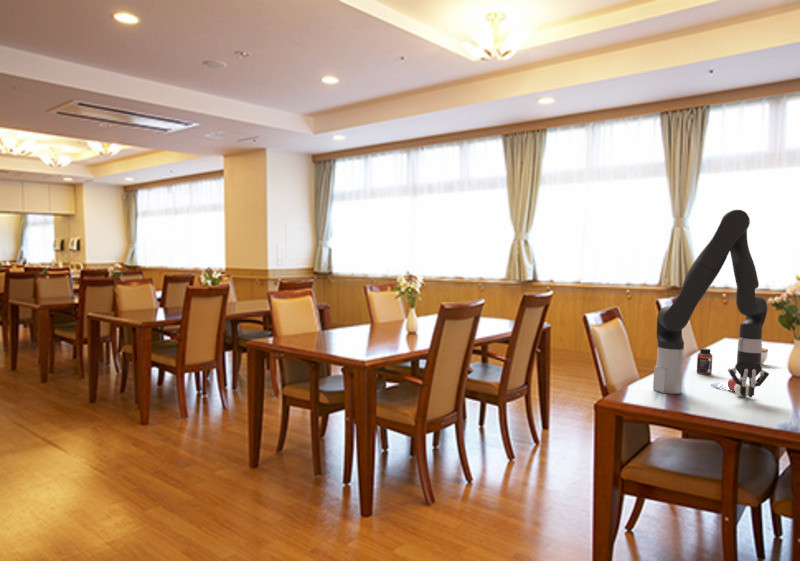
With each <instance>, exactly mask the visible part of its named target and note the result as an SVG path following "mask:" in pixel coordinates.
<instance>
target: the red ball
mask: <svg viewBox="0 0 800 561" xmlns="http://www.w3.org/2000/svg"><path fill="white" fill-rule="evenodd" d="M737 378H738V377H737ZM738 380H739V381H740V377H739V378H738ZM727 383H728V387H729V389H730V390H732V391H734V387H735V385H736V383H735V382H734V380H733V378H732V377H731V378H730V379H728V381H727ZM732 391H731V392H732Z"/></svg>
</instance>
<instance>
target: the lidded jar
mask: <svg viewBox="0 0 800 561" xmlns="http://www.w3.org/2000/svg"><path fill="white" fill-rule="evenodd" d="M768 351H769V349H767V348H765V347H762V353H761V365H762V364H764V363H765V361H766V360H767V358H768Z"/></svg>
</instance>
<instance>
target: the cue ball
mask: <svg viewBox="0 0 800 561" xmlns="http://www.w3.org/2000/svg"><path fill="white" fill-rule="evenodd" d="M749 386H750V385H749V384H748V383H747V382H746V385H745V387H746V396H745V397H743V396H742V395H741V394H740V385H738V384H736V385H735V387H734V391H735V392H734V393H735V395H737V396H738V397H741V398H746V397H749V396H748V388H749Z"/></svg>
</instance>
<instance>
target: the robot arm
mask: <svg viewBox="0 0 800 561" xmlns="http://www.w3.org/2000/svg"><path fill="white" fill-rule="evenodd" d="M750 224H751V219H750V216H749V214H747V212H746V211H744V210H743V209H732V210H729V211H728V212H726V213H725V214H724V215H723V217H722V218H721V220H720V223H719V225H718V227H717V229H716V231H715V233H714V235H713V236H712V238H711V240H710V241H709V242H708V243H707V245H706V246H705V247H704V248H703V250H702V251H701V252H700V253H699V254H698V256H697V258H696V259H695V260H694V262H693V263H692V265H691V266H690V267H689V270H688V271H687V273H686V276H685V277H684V280H683V283H682V287H681V290H680V292H679V294H678V296H677V297H676V298H675V300H674V301H673V303H672V304H671V305H666V306H664V307H662V308H661V309H660V310H659V312H658V313H657V316H656V340H657V351H656V365H654V366H653V382H652V385H653V386H652V390H654V391H656V392H658V393H659V392H660V393H663V394H670V395H671V394H674V395H678V394H682V389H683V388H682V385H683V368H684V353H685V352H684V351H685V349H684V348H685V341H684V339H683V335H682V334H683V329H684V328H686V326H687V325H688V323H689V320H690V319H691V317H692V315H693V313H694V311H695V309H696V308H697V305H698V304H699V302H700V301H701V299H702V298H703V297H704V295H705V294H706V293H707V291H708V289H709V288H710V287H711V285H712V283H713V282H714V281H715V279H716V278H717V276H718V274H719V273H720V272H721V270H722V268H723V266H724V264H725V262H726V260H727V257H728V255H729V254H730V258H731V262H732V268H733V274H734V279H735V280H734V281H735V283H736V284H735V285H736V299H735V300H736V301H735V302H736V304H735V305H736V308H737V311H739V313H740V314H741V315H743V316H745V319H744V321H742V322H741V323H740V325H739V334H738V341H737V354H736V356H737V357H736V364H735V365H734V367H733V368H728V369H727V372H728V373H729V376H730V377H731V378H733V380H734V382H735V383H736V384H738V385H740V394H741V395H742V396H743V397H742V398H746V397H748V398H752V397H753V396H754V395H755V389H756V388H757V387H761V386H762V384H763V383H764V382H765V381H766V379H767V378H768V377H769V375H770V373H769V372H768V371H765V370H764V369H763V368H762V364H761V353H762V348H763V341H762V336H763V326H764V325H765V324H764V323H765V320H766V317H767V315H768V314H767V313H768V304H767V301H766V299H765V298H763V297H761V296H756V289H758V288H759V285H760V284H759V278H758V273H757V270H756V266H755V262H754V260H753V258H752V255H751V252H750V249H749V244H748V242H749V241H748V229H749V227H750ZM737 372H738V374H739V379H740V381H739V380H738V376H737V375H736V374H737ZM758 375H759V376H758ZM756 377H758V378H757V379H756ZM747 380H748V383H749V384H748V385H749V388H748V396H746V387H745V385H746V383H747ZM745 396H746V397H745Z"/></svg>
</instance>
